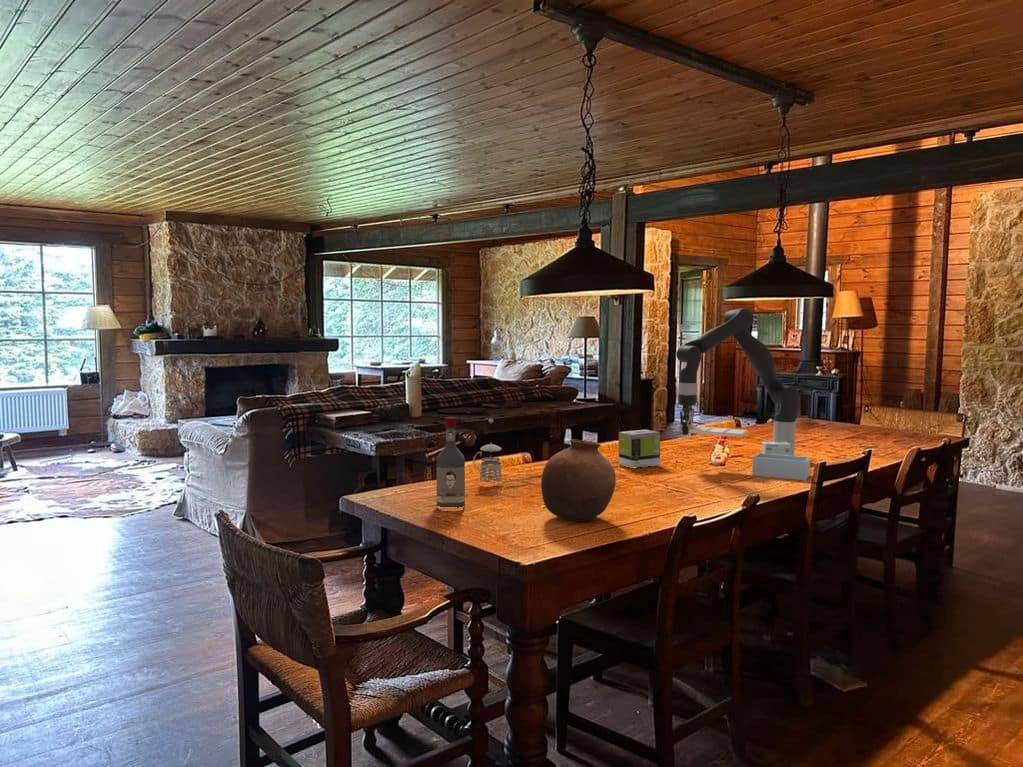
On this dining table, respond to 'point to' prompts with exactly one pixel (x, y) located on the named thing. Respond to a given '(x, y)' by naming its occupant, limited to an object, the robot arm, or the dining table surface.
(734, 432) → the lid
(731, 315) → the robot arm
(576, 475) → the pottery
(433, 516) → the dining table surface
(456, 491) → the liquor
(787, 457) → the tub
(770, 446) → the light bulb box
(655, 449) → the tea box
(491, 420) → the french press
